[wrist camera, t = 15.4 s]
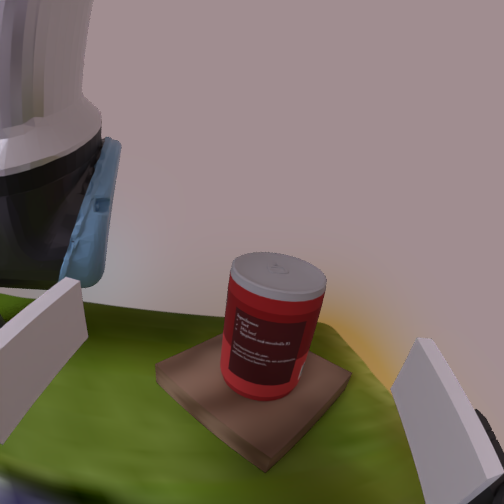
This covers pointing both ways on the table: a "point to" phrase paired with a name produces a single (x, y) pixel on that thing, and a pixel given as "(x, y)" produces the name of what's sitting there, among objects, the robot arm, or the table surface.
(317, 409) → the walnut base
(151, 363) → the table surface
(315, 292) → the canned food
